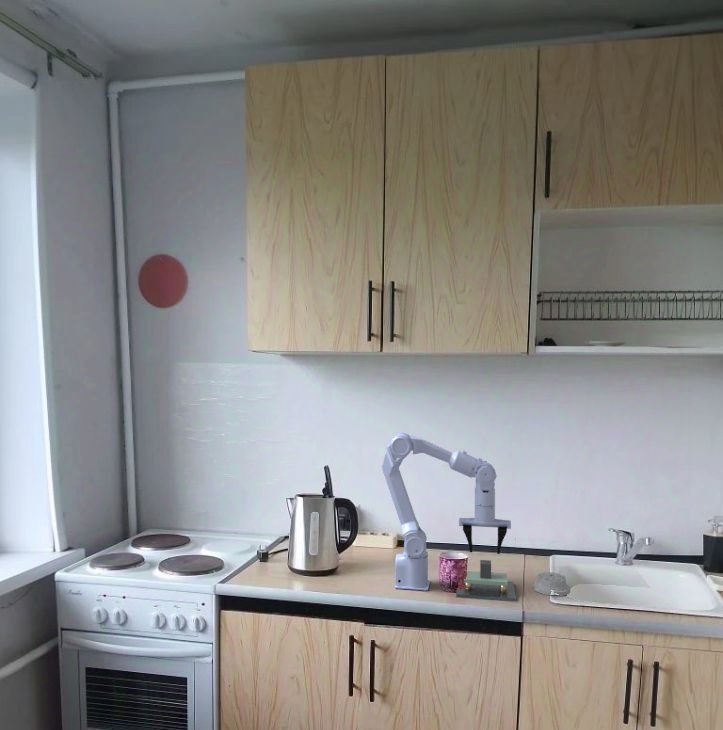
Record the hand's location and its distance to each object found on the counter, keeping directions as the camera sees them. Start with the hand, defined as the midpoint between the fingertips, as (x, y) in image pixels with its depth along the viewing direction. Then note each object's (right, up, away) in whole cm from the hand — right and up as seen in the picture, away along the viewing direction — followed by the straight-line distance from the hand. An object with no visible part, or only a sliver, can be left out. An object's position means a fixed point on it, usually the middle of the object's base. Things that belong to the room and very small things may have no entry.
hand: (484, 552), depth 176 cm
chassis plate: (0, -10, -2) cm, 11 cm away
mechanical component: (+19, -11, -1) cm, 22 cm away
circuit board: (0, -8, -1) cm, 8 cm away
